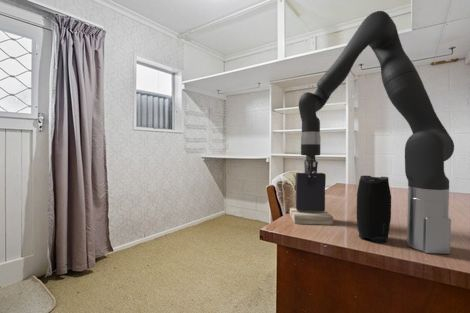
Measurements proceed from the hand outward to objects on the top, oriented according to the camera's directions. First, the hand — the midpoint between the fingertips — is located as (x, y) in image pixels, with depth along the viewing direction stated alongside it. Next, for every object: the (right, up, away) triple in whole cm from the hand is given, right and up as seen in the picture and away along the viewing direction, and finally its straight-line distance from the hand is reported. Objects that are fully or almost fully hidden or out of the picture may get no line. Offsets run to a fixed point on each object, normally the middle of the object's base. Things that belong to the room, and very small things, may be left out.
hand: (310, 185), depth 99 cm
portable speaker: (+13, -14, -22) cm, 29 cm away
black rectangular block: (0, -10, 0) cm, 10 cm away
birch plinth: (0, -13, 0) cm, 13 cm away
